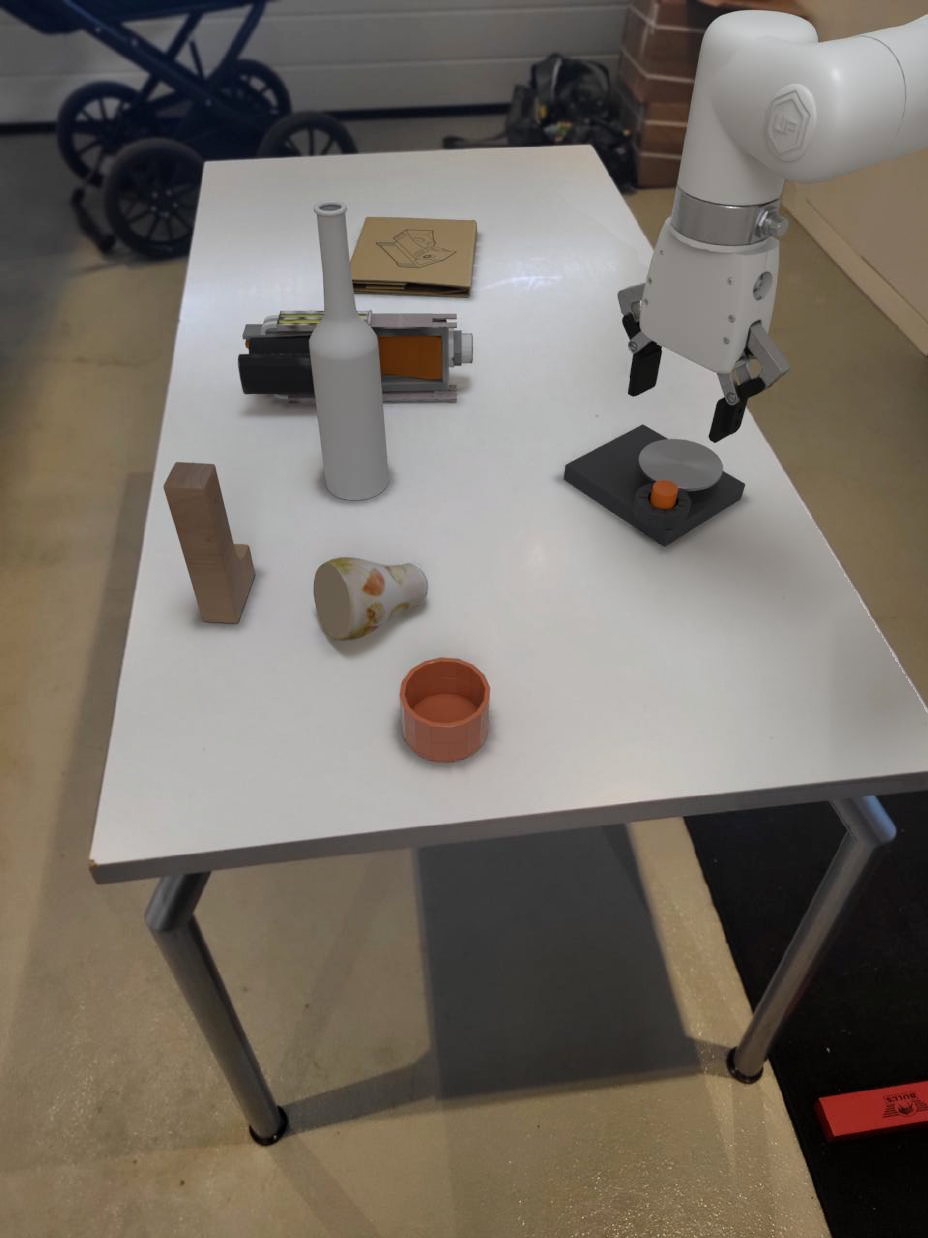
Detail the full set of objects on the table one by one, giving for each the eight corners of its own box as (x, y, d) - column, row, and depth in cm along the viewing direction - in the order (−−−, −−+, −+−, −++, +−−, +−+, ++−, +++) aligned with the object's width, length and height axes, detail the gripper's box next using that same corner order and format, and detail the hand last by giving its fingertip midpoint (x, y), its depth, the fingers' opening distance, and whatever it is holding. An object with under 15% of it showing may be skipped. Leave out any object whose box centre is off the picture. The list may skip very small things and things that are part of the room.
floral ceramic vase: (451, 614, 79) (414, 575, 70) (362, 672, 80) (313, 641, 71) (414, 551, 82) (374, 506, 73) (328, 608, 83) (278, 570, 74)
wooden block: (238, 624, 78) (203, 488, 67) (201, 622, 78) (161, 485, 67) (256, 574, 82) (226, 438, 72) (221, 571, 83) (187, 436, 72)
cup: (505, 731, 70) (508, 695, 67) (438, 777, 67) (437, 742, 64) (451, 681, 74) (451, 644, 70) (385, 722, 71) (382, 686, 67)
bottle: (374, 505, 90) (351, 225, 70) (315, 493, 91) (275, 215, 71) (397, 468, 94) (382, 195, 74) (340, 457, 95) (310, 186, 75)
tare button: (680, 502, 85) (683, 488, 84) (663, 512, 84) (666, 498, 83) (661, 491, 87) (664, 476, 85) (644, 500, 86) (647, 486, 84)
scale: (742, 499, 91) (751, 471, 88) (659, 551, 85) (665, 523, 83) (640, 438, 98) (645, 411, 96) (557, 482, 93) (560, 454, 90)
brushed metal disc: (739, 469, 89) (740, 466, 88) (684, 502, 85) (685, 499, 85) (675, 432, 93) (676, 429, 93) (620, 462, 89) (621, 459, 89)
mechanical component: (473, 418, 101) (474, 337, 94) (247, 419, 101) (232, 337, 93) (471, 375, 107) (472, 296, 100) (259, 375, 107) (245, 296, 100)
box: (470, 298, 122) (470, 282, 120) (344, 293, 122) (343, 277, 121) (478, 234, 137) (479, 219, 135) (366, 230, 137) (365, 215, 136)
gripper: (853, 237, 63) (787, 441, 75) (667, 168, 72) (636, 360, 85) (790, 266, 60) (732, 474, 72) (604, 190, 69) (581, 386, 81)
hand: (680, 412), depth 78 cm, fingers open, 8 cm apart
